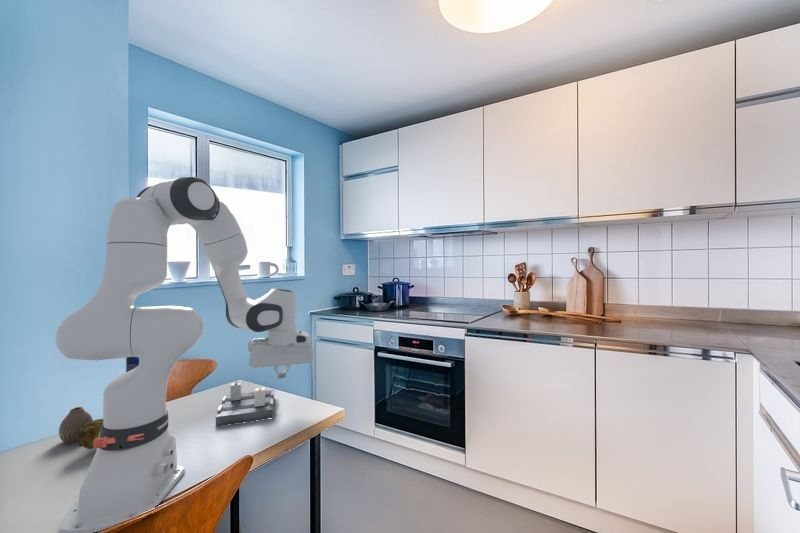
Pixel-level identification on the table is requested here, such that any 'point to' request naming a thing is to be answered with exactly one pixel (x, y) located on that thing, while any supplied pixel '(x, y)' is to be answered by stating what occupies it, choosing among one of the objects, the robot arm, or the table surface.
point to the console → (244, 409)
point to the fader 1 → (236, 391)
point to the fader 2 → (260, 396)
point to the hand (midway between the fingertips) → (281, 377)
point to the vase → (73, 424)
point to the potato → (89, 433)
